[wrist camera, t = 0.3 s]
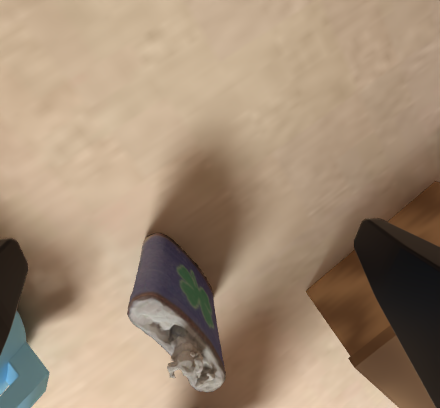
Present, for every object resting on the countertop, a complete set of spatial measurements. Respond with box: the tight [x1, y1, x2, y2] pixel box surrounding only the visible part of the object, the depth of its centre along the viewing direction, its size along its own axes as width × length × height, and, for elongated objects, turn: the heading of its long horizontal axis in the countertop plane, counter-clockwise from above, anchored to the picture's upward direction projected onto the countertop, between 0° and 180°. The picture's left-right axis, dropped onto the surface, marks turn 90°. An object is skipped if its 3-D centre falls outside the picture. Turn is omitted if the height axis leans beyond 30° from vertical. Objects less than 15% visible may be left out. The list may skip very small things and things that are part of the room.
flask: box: [127, 233, 226, 392], centre depth 21 cm, size 9×3×11 cm, turn 31°
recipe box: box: [306, 181, 440, 408], centre depth 26 cm, size 16×12×9 cm
